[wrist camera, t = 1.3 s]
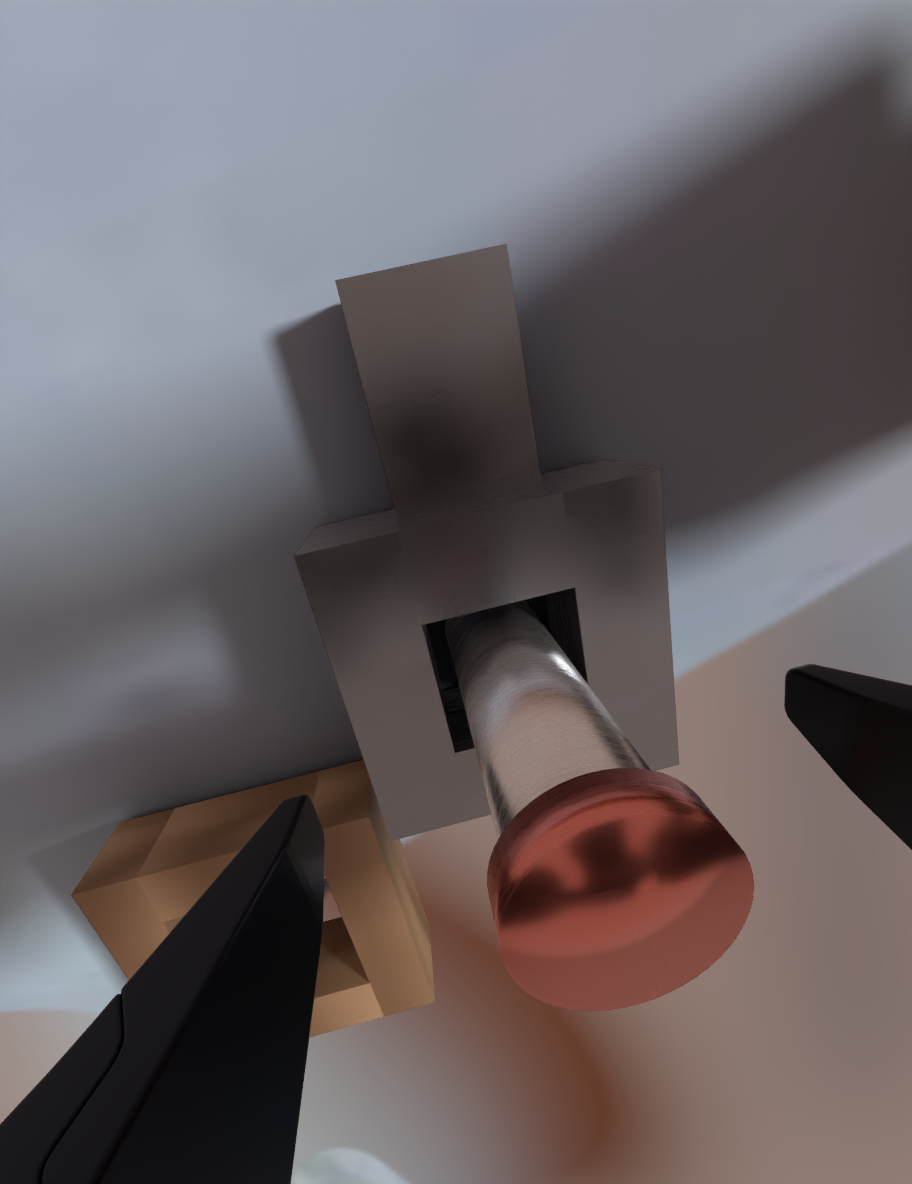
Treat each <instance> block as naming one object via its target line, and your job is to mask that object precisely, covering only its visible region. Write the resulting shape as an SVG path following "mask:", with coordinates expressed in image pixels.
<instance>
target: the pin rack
mask: <svg viewBox="0 0 912 1184" xmlns="http://www.w3.org/2000/svg"><path fill="white" fill-rule="evenodd" d="M302 794H306V795H308V796H309V797H310V798H311V800H312V803H313V805H314V807H315V810H316V812H317V815H318V817H319V820H320V822H321V825H322V827H323V831H324V837H325V855H324V879H325V878H326V880H327V882H328V885H329V887H330V890H331V892H332V894H333V896H334V899H335V901H336V904H337V906H338V909H339V911H340V913H341V916H342V917H340V918H336V919H332V920H329V921H325V922H323V930H322V940H321V949H320V957H319V965H318V973H317V980H316V988H315V996H314V1004H313V1012H312V1020H311V1027H310V1035H309V1037H313V1036H316V1035H319V1034H323V1033H327V1032H330V1031H334V1030H337V1029H341V1028H345V1027H348V1026H352V1025H355V1024H359V1023H363V1022H366V1021H369V1020H373V1019H377V1018H380V1017H384V1016H387V1015H391V1014H395V1013H398V1012H402V1011H405V1010H409V1009H412V1008H416V1007H419V1006H423V1005H427V1004H430V1003H434V1002H435V998H434V985H433V971H432V958H431V943H430V929H429V925H428V922H427V919H426V916H425V913H424V911H423V907H422V904H421V901H420V898H419V895H418V893H417V889H416V886H415V883H414V880H413V877H412V874H411V871H410V868H409V865H408V862H407V859H406V856H405V854H404V850H403V847H402V844H401V841H400V839H396V840H392V841H391V838H390V835H389V832H388V829H387V826H386V823H385V820H384V817H383V814H382V812H381V809H380V806H379V803H378V800H377V797H376V794H375V791H374V788H373V785H372V782H371V779H370V777H369V774H368V771H367V768H366V765H365V762H364V760H360V761H356V762H352V763H349V764H345V765H341V766H337V767H333V768H329V769H325V770H321V771H317V772H314V773H310V774H306V775H302V776H298V777H294V778H290V779H286V780H282V781H279V782H275V783H271V784H267V785H263V786H259V787H255V788H251V789H247V790H244V791H240V792H236V793H232V794H228V795H224V796H220V797H216V798H212V799H209V800H205V801H201V802H197V803H193V804H189V805H185V806H181V807H177V808H174V809H170V810H166V811H162V812H158V813H154V814H150V815H146V816H142V817H139V818H135V819H131V820H127V821H123V822H120V824H119V825H118V827H117V828H116V830H115V831H114V833H113V834H112V836H111V837H110V839H109V840H108V841H107V843H106V844H105V846H104V847H103V849H102V850H101V852H100V853H99V855H98V856H97V858H96V859H95V861H94V862H93V864H92V865H91V866H90V868H89V869H88V871H87V872H86V874H85V875H84V877H83V878H82V880H81V881H80V883H79V884H78V886H77V887H76V889H75V890H74V891H73V893H72V894H71V896H72V897H73V899H74V900H75V902H76V903H77V905H78V906H79V907H80V909H81V910H82V912H83V913H84V915H85V916H86V918H87V919H88V921H89V922H90V924H91V925H92V926H93V928H94V929H95V931H96V932H97V934H98V935H99V937H100V938H101V940H102V941H103V942H104V944H105V945H106V947H107V948H108V950H109V951H110V953H111V954H112V956H113V957H114V959H115V960H116V961H117V963H118V964H119V966H120V967H121V969H122V970H123V972H124V973H125V975H126V976H127V978H128V979H129V980H130V978H131V977H132V976H133V975H134V974H135V973H136V971H137V970H138V969H139V968H140V967H141V966H142V964H143V963H144V962H145V961H146V960H147V959H148V957H149V956H150V955H151V954H152V953H153V952H154V950H155V949H156V948H157V947H158V946H159V945H160V943H161V942H162V941H163V940H164V939H165V938H166V936H167V935H168V934H169V933H170V932H171V931H172V929H173V928H174V927H175V926H176V925H177V924H178V922H179V921H180V920H181V919H182V918H183V917H184V915H185V914H186V913H187V912H188V911H189V910H190V908H191V907H192V906H193V905H194V904H195V903H196V901H197V900H198V899H199V898H200V897H201V896H202V894H203V893H204V892H205V891H206V890H207V889H208V887H209V886H210V885H211V884H212V883H213V882H214V880H215V879H216V878H217V877H218V876H219V875H220V873H221V872H222V871H223V870H224V869H225V868H226V866H227V865H228V864H229V863H230V862H231V861H232V859H233V858H234V857H235V856H236V855H237V854H238V852H239V851H240V850H241V849H242V848H243V847H244V845H245V844H246V843H247V842H248V841H249V840H250V838H251V837H252V836H253V835H254V834H255V833H256V831H257V830H258V829H259V828H260V827H261V826H262V824H263V823H264V822H265V821H266V820H267V819H268V817H269V816H270V815H271V814H272V813H273V812H274V810H275V809H276V808H277V807H278V806H279V805H280V803H281V802H282V801H283V800H285V799H287V798H290V797H294V796H298V795H302Z"/></svg>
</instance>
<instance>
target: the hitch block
mask: <svg viewBox="0 0 912 1184" xmlns="http://www.w3.org/2000/svg"><path fill="white" fill-rule="evenodd" d="M335 281H336V285H337V289H338V293H339V297H340V301H341V305H342V309H343V312H344V316H345V320H346V324H347V328H348V332H349V336H350V339H351V343H352V347H353V351H354V355H355V359H356V363H357V367H358V370H359V374H360V378H361V382H362V386H363V390H364V394H365V398H366V401H367V405H368V409H369V413H370V417H371V421H372V425H373V429H374V432H375V436H376V440H377V444H378V448H379V452H380V456H381V460H382V463H383V467H384V471H385V475H386V479H387V483H388V487H389V491H390V494H391V498H392V502H393V506H394V509H390V510H386V511H382V512H377V513H373V514H369V515H365V516H360V517H356V518H352V519H348V520H343V521H339V522H335V523H330V524H326V525H322V526H318V527H315V528H314V530H313V531H312V532H311V534H310V535H309V536H308V538H307V539H306V540H305V542H304V543H303V545H302V546H301V547H300V549H299V550H298V551H297V553H296V554H295V555H294V558H295V561H296V564H297V567H298V569H299V572H300V575H301V578H302V581H303V584H304V587H305V590H306V593H307V596H308V599H309V602H310V604H311V607H312V610H313V613H314V616H315V619H316V622H317V625H318V628H319V631H320V634H321V637H322V639H323V642H324V645H325V648H326V651H327V654H328V657H329V660H330V663H331V666H332V669H333V672H334V674H335V677H336V680H337V683H338V686H339V689H340V692H341V695H342V698H343V701H344V704H345V707H346V709H347V712H348V715H349V718H350V721H351V724H352V727H353V730H354V733H355V736H356V739H357V742H358V744H359V747H360V750H361V753H362V756H363V759H364V762H365V765H366V768H367V771H368V774H369V777H370V779H371V782H372V785H373V788H374V791H375V794H376V797H377V800H378V803H379V806H380V809H381V812H382V814H383V817H384V820H385V823H386V826H387V829H388V832H389V835H390V838H391V841H392V840H396V839H400V838H404V837H408V836H411V835H415V834H419V833H423V832H426V831H430V830H434V829H438V828H441V827H445V826H449V825H453V824H457V823H460V822H464V821H468V820H472V819H475V818H479V817H483V816H487V815H491V811H490V807H489V803H488V799H487V795H486V791H485V787H484V783H483V779H482V775H481V771H480V767H479V763H478V759H477V755H476V751H475V747H474V743H473V739H472V735H471V731H470V727H469V723H468V719H467V715H466V711H465V707H464V703H463V699H462V695H461V691H460V687H459V688H455V689H451V690H447V691H443V688H442V684H441V680H440V677H439V673H438V669H437V665H436V661H435V657H434V653H433V649H432V645H431V641H430V638H429V634H428V630H427V626H426V624H428V623H432V622H437V621H441V620H445V619H449V618H453V617H457V616H461V615H465V614H469V613H473V612H477V611H481V610H485V609H489V608H493V607H497V606H502V605H506V604H510V603H514V602H518V601H522V600H526V599H530V598H534V597H538V596H542V595H545V599H546V606H547V612H548V618H549V625H550V631H551V636H552V637H553V638H554V640H555V641H556V642H557V644H558V645H559V646H560V648H561V649H562V651H563V652H564V653H565V655H566V656H567V657H568V659H569V660H570V661H571V663H572V664H573V665H574V667H575V668H576V669H577V671H578V672H579V673H580V675H581V676H582V677H583V679H584V680H585V682H586V683H587V684H588V686H589V687H590V688H591V690H592V691H593V692H594V694H595V695H596V696H597V698H598V699H599V700H600V702H601V703H602V704H603V706H604V707H605V708H606V710H607V711H608V712H609V714H610V715H611V717H612V718H613V719H614V721H615V722H616V723H617V725H618V726H619V727H620V729H621V730H622V731H623V733H624V734H625V735H626V737H627V738H628V739H629V741H630V742H631V743H632V745H633V746H634V747H635V749H636V750H637V752H638V753H639V754H640V756H641V757H642V758H643V760H644V761H645V762H646V764H647V765H648V766H649V768H650V769H651V770H653V771H656V770H660V769H664V768H668V767H672V766H675V765H678V764H679V754H678V739H677V738H678V737H677V722H676V706H675V690H674V674H673V658H672V642H671V626H670V610H669V595H668V579H667V563H666V547H665V531H664V515H663V499H662V484H661V469H657V468H651V467H645V466H640V465H634V464H628V463H623V462H617V461H611V460H606V459H603V460H599V461H594V462H590V463H586V464H582V465H577V466H573V467H569V468H565V469H560V470H556V471H552V472H548V473H543V474H540V467H539V460H538V454H537V447H536V440H535V433H534V427H533V420H532V413H531V406H530V400H529V393H528V386H527V379H526V373H525V366H524V359H523V352H522V346H521V339H520V332H519V325H518V319H517V312H516V305H515V299H514V292H513V285H512V278H511V272H510V265H509V258H508V251H507V245H506V244H504V245H499V246H495V247H490V248H485V249H480V250H476V251H471V252H466V253H462V254H457V255H452V256H448V257H443V258H438V259H434V260H429V261H424V262H419V263H415V264H410V265H405V266H401V267H396V268H391V269H387V270H382V271H377V272H373V273H368V274H363V275H358V276H354V277H349V278H344V279H340V280H335Z"/></svg>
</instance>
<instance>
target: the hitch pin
mask: <svg viewBox="0 0 912 1184" xmlns="http://www.w3.org/2000/svg"><path fill="white" fill-rule="evenodd" d="M445 626H446V636H447V640H448V644H449V648H450V652H451V656H452V660H453V664H454V668H455V672H456V676H457V679H458V683H459V687H460V691H461V695H462V699H463V703H464V707H465V711H466V715H467V719H468V723H469V727H470V731H471V735H472V739H473V743H474V747H475V751H476V755H477V759H478V763H479V767H480V771H481V775H482V779H483V783H484V787H485V791H486V795H487V799H488V803H489V807H490V811H491V815H492V819H493V823H494V827H495V830H496V835H497V839H498V841H497V843H496V845H495V847H494V849H493V852H492V855H491V858H490V861H489V866H488V871H487V887H488V893H489V899H490V903H491V909H492V914H493V918H494V923H495V928H496V933H497V938H498V943H499V948H500V953H501V957H502V960H503V963H504V965H505V968H506V970H507V971H508V973H509V975H510V976H511V978H512V979H513V980H514V981H515V982H516V983H517V984H518V986H519V987H520V988H522V989H523V990H524V991H525V992H527V993H528V994H529V995H531V996H533V997H535V998H537V999H538V1000H540V1001H543V1002H545V1003H548V1004H550V1005H553V1006H557V1007H561V1008H565V1009H572V1010H580V1011H601V1010H612V1009H619V1008H625V1007H629V1006H633V1005H637V1004H641V1003H644V1002H646V1001H650V1000H653V999H656V998H658V997H660V996H663V995H665V994H668V993H670V992H672V991H673V990H675V989H677V988H679V987H681V986H683V985H685V984H686V983H688V982H689V981H691V980H693V979H694V978H696V977H697V976H699V975H700V974H701V973H702V972H704V971H705V970H706V969H708V968H709V967H710V966H711V965H712V964H713V963H714V962H716V961H717V960H718V959H719V958H720V957H721V956H722V955H723V954H724V952H725V951H726V950H727V949H728V948H729V947H730V946H731V944H732V943H733V942H734V940H735V939H736V937H737V936H738V934H739V933H740V931H741V929H742V927H743V926H744V924H745V922H746V919H747V917H748V914H749V912H750V909H751V905H752V901H753V892H754V880H753V873H752V870H751V866H750V863H749V861H748V859H747V857H746V855H745V853H744V851H743V850H742V849H741V848H740V846H739V845H738V844H737V843H736V841H735V840H734V839H733V838H732V837H731V835H730V834H729V833H728V831H727V830H726V829H725V828H724V827H723V826H722V824H721V823H720V822H719V820H718V819H717V818H716V817H715V816H714V814H713V813H712V812H711V811H710V809H709V808H708V807H707V806H706V805H705V803H704V802H703V801H702V800H701V798H700V797H699V796H698V795H697V794H696V793H695V792H694V791H693V790H692V789H690V787H688V786H687V785H686V784H684V783H682V782H681V781H679V780H678V779H676V778H673V777H671V776H669V775H666V774H664V773H660V772H656V771H653V770H651V769H650V768H649V766H648V765H647V764H646V762H645V761H644V760H643V758H642V757H641V756H640V754H639V753H638V752H637V750H636V749H635V747H634V746H633V745H632V743H631V742H630V741H629V739H628V738H627V737H626V735H625V734H624V733H623V731H622V730H621V729H620V727H619V726H618V725H617V723H616V722H615V721H614V719H613V718H612V717H611V715H610V714H609V712H608V711H607V710H606V708H605V707H604V706H603V704H602V703H601V702H600V700H599V699H598V698H597V696H596V695H595V694H594V692H593V691H592V690H591V688H590V687H589V686H588V684H587V683H586V682H585V680H584V679H583V677H582V676H581V675H580V673H579V672H578V671H577V669H576V668H575V667H574V665H573V664H572V663H571V661H570V660H569V659H568V657H567V656H566V655H565V653H564V652H563V651H562V649H561V648H560V646H559V645H558V644H557V642H556V641H555V640H554V638H553V637H552V636H551V634H550V633H549V632H548V630H547V629H546V628H545V626H544V625H543V624H542V622H541V621H540V620H539V618H538V617H537V616H536V614H535V613H534V611H533V610H532V609H531V607H530V606H529V605H528V603H527V602H526V601H525V600H522V601H518V602H514V603H510V604H506V605H502V606H497V607H493V608H489V609H485V610H481V611H477V612H473V613H469V614H465V615H461V616H457V617H453V618H449V619H446V625H445Z"/></svg>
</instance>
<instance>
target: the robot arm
mask: <svg viewBox="0 0 912 1184" xmlns="http://www.w3.org/2000/svg"><path fill="white" fill-rule="evenodd" d="M784 705H785V711H786V713H787V716H788V717H789V719H790V720H791V722H792V723H793V724H794V725H795V726H796V727H797V728H798V730H799V731H800V732H801V733H802V735H803V736H804V737H805V738H806V739H807V740H808V741H809V743H810V744H811V745H812V746H813V747H814V748H815V750H816V751H817V752H818V753H819V754H820V755H821V757H822V758H823V759H824V760H825V761H826V762H827V764H828V765H829V766H830V767H831V768H832V769H833V771H834V772H835V773H836V774H837V775H838V776H839V778H840V779H841V780H842V781H843V782H844V783H845V784H846V785H847V786H848V787H849V789H850V790H851V791H852V792H853V793H854V794H855V795H856V796H857V797H858V798H859V799H860V800H862V802H863V803H864V804H865V805H866V806H867V807H868V808H870V810H871V811H872V812H874V814H875V815H877V816H878V817H879V818H880V819H881V820H882V821H883V822H884V823H885V824H886V825H887V826H888V827H889V828H890V829H891V830H892V831H893V832H894V833H895V834H896V835H897V836H898V837H899V838H900V839H901V840H902V841H903V842H904V843H905V844H906V845H907V846H908V847H910V849H911V850H912V685H907V684H902V683H898V682H893V681H889V680H884V679H879V678H875V677H870V676H865V675H861V674H856V673H851V672H847V671H842V670H838V669H833V668H828V667H823V666H819V665H814V664H807V665H803V666H799V667H796V668H792V669H790V670H788V671H787V673H786V676H785V704H784ZM324 855H325V837H324V831H323V827H322V825H321V822H320V820H319V817H318V815H317V812H316V810H315V807H314V805H313V803H312V800H311V798H310V797H309V796H308V795H306V794H302V795H298V796H294V797H290V798H287V799H285V800H283V801H282V802H281V803H280V805H279V806H278V807H277V808H276V809H275V810H274V812H273V813H272V814H271V815H270V816H269V817H268V819H267V820H266V821H265V822H264V823H263V824H262V826H261V827H260V828H259V829H258V830H257V831H256V833H255V834H254V835H253V836H252V837H251V838H250V840H249V841H248V842H247V843H246V844H245V845H244V847H243V848H242V849H241V850H240V851H239V852H238V854H237V855H236V856H235V857H234V858H233V859H232V861H231V862H230V863H229V864H228V865H227V866H226V868H225V869H224V870H223V871H222V872H221V873H220V875H219V876H218V877H217V878H216V879H215V880H214V882H213V883H212V884H211V885H210V886H209V887H208V889H207V890H206V891H205V892H204V893H203V894H202V896H201V897H200V898H199V899H198V900H197V901H196V903H195V904H194V905H193V906H192V907H191V908H190V910H189V911H188V912H187V913H186V914H185V915H184V917H183V918H182V919H181V920H180V921H179V922H178V924H177V925H176V926H175V927H174V928H173V929H172V931H171V932H170V933H169V934H168V935H167V936H166V938H165V939H164V940H163V941H162V942H161V943H160V945H159V946H158V947H157V948H156V949H155V950H154V952H153V953H152V954H151V955H150V956H149V957H148V959H147V960H146V961H145V962H144V963H143V964H142V966H141V967H140V968H139V969H138V970H137V971H136V973H135V974H134V975H133V976H132V977H131V978H130V980H129V981H128V982H127V983H126V984H125V985H124V987H123V988H122V990H121V994H117V995H116V996H115V997H114V998H113V999H112V1000H111V1002H110V1003H109V1004H108V1005H107V1006H106V1007H105V1009H104V1010H103V1011H102V1012H101V1013H100V1014H99V1016H98V1017H97V1018H96V1019H95V1020H94V1021H93V1023H92V1024H91V1025H90V1026H89V1027H88V1028H87V1029H86V1031H85V1032H84V1033H83V1034H82V1035H81V1036H80V1037H79V1039H78V1040H77V1041H76V1042H75V1043H74V1044H73V1045H72V1047H71V1048H70V1049H69V1050H68V1051H67V1052H66V1053H65V1054H64V1056H63V1057H62V1058H61V1059H60V1060H59V1061H58V1062H57V1063H56V1065H55V1066H54V1067H53V1068H52V1069H51V1070H50V1071H49V1072H48V1073H47V1075H46V1076H45V1077H44V1078H43V1079H42V1080H41V1081H40V1082H39V1083H38V1084H37V1085H36V1086H35V1087H34V1089H33V1090H32V1091H31V1092H30V1093H29V1094H28V1095H27V1096H26V1097H25V1098H24V1099H23V1100H22V1101H21V1103H20V1104H19V1105H18V1106H17V1107H16V1108H15V1109H14V1110H13V1111H12V1112H11V1113H10V1115H9V1116H8V1117H7V1118H6V1119H5V1120H4V1121H3V1122H2V1123H1V1124H0V1184H291V1176H292V1168H293V1160H294V1152H295V1144H296V1136H297V1128H298V1121H299V1113H300V1105H301V1098H302V1090H303V1082H304V1074H305V1066H306V1059H307V1050H308V1043H309V1035H310V1027H311V1020H312V1012H313V1004H314V996H315V988H316V980H317V973H318V965H319V957H320V949H321V940H322V930H323V899H324Z"/></svg>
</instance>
